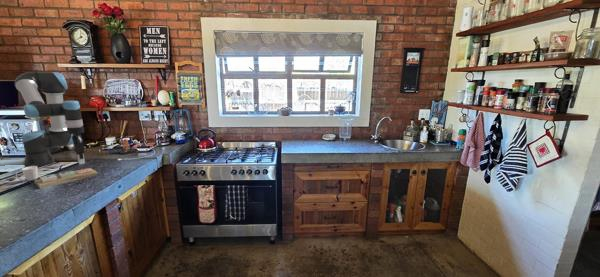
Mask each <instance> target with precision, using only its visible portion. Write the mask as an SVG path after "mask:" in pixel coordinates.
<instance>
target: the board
mask: <svg viewBox="0 0 600 277" xmlns="http://www.w3.org/2000/svg"><path fill="white" fill-rule="evenodd" d="M84 169H85V168H82V169H79V170H74V171H73V170H72V171H73V172H74V173H75V176H71V177H66V178H62V179H61V178H60V177H59V174H55V175H56V176H57V180H53V181H49V182H44V183H42V182H41V181H40V178H37V179H34V180H33V182H34V184H35V185H36V186H37V187H38V188H39V189H40V190H41V189H45V188H49V187H53V186H57V185H62V184H65V183H71V182H74V181H79V180H82V179H87V178H90V177H96V176H98V175H99V174H98V171H96V169H93V168H91V167H87V168H86V169H89V170H91V172H88V173H84V174H80V175H79V174H77V173H76V171H80V170H84Z"/></svg>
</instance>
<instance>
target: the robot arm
mask: <svg viewBox="0 0 600 277" xmlns="http://www.w3.org/2000/svg"><path fill="white" fill-rule="evenodd" d="M14 86H15V89H16V90H17V91H18V92H20V93H21V96H22V99H23V100H24V102H25V105H23V111H24V112H23V113H24V115H25V117H26V118H29V119H38V118H49V121H50V127H49V128H48V131H45V130H43V129H42V130H34V131H29V132H27V133H24V134H22V135H21V143H22V145H23V149H24V153H25V158H24V162H23V164H24V168H25V167H30V166H37V167H43V166H47V165H51V164H54V163H55V158H54V157H53V155H52V154H51V153H50V150H49V149H52V148H58V147H59V148H60V147H67V146H72V145H73V148H74V151H75V153H76V156H77V161H78V164H79V165H84V164H86V160H85V147H84V138H83V135H82V134H83V133H85V127H84V123H83V118H82V112H81V105H80V102H79V101H78V100H64V94H65V93H66V90H68V84H67V81H66V78H65V76H64V74H63V73H61V72H55V71H28V72H24V73H21V74H20V75H18V76H17V77H16V78H15V80H14ZM38 90H39V91H41V93H43V94H44V95H45V99H46V103H45V101H44V99H43V98H42V96H41V94H40V92H39V91H38Z"/></svg>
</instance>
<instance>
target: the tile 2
mask: <svg viewBox="0 0 600 277" xmlns="http://www.w3.org/2000/svg"><path fill="white" fill-rule="evenodd" d="M57 175H59V177H60V178H61V179H62V178H66V177H71V176H75V173H74V172H73V170H68V171H67V170H66V171H63V172H62V171H61V172H58V174H57Z"/></svg>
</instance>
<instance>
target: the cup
mask: <svg viewBox="0 0 600 277" xmlns="http://www.w3.org/2000/svg"><path fill="white" fill-rule="evenodd" d="M38 167H39V166H38ZM38 167H37V166H30V167H25V166H24V167H22V168H21V169H20V170H17V171H16V172H15V177H16V179H17V180H20V181H22V182H26V181H34V180H36V179H38V172H39V171H38V169H39V168H38ZM19 172H22V173H23V175H24V178H25V179H23V178H20V177H19V176H18V173H19Z"/></svg>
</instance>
